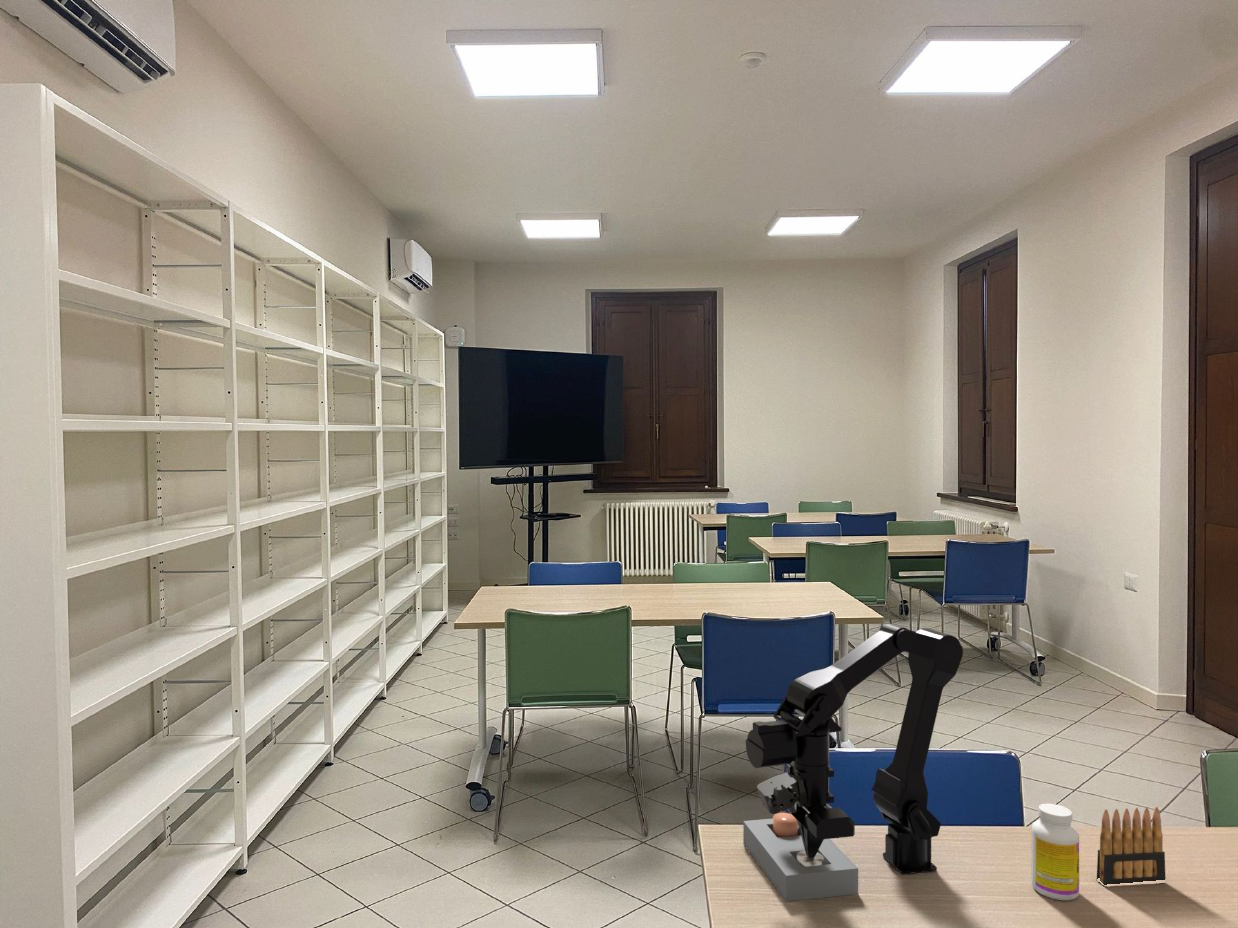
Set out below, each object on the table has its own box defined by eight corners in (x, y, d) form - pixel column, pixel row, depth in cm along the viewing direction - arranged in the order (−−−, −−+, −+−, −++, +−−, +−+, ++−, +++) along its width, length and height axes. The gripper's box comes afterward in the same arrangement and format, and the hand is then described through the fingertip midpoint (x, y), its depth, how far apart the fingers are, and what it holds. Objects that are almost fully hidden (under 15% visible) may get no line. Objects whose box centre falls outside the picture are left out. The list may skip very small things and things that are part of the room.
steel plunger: (816, 867, 131) (816, 849, 131) (828, 880, 127) (828, 861, 127) (792, 869, 130) (792, 851, 130) (803, 883, 126) (803, 864, 126)
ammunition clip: (1157, 877, 131) (1157, 804, 131) (1166, 883, 129) (1166, 809, 129) (1096, 880, 130) (1096, 806, 129) (1104, 887, 128) (1104, 811, 128)
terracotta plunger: (791, 828, 141) (792, 811, 141) (801, 839, 137) (801, 822, 137) (769, 830, 140) (769, 813, 140) (778, 841, 136) (778, 824, 136)
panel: (806, 837, 144) (806, 815, 144) (858, 893, 125) (858, 868, 125) (743, 843, 142) (743, 820, 142) (786, 901, 123) (786, 875, 123)
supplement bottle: (1085, 904, 123) (1086, 820, 122) (1038, 899, 124) (1039, 816, 124) (1070, 882, 129) (1070, 802, 129) (1025, 877, 130) (1026, 798, 130)
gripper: (742, 742, 136) (742, 834, 136) (786, 786, 118) (786, 892, 118) (804, 738, 138) (804, 828, 138) (856, 780, 120) (856, 884, 120)
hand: (810, 856), depth 129 cm, fingers closed, pressing on steel plunger
